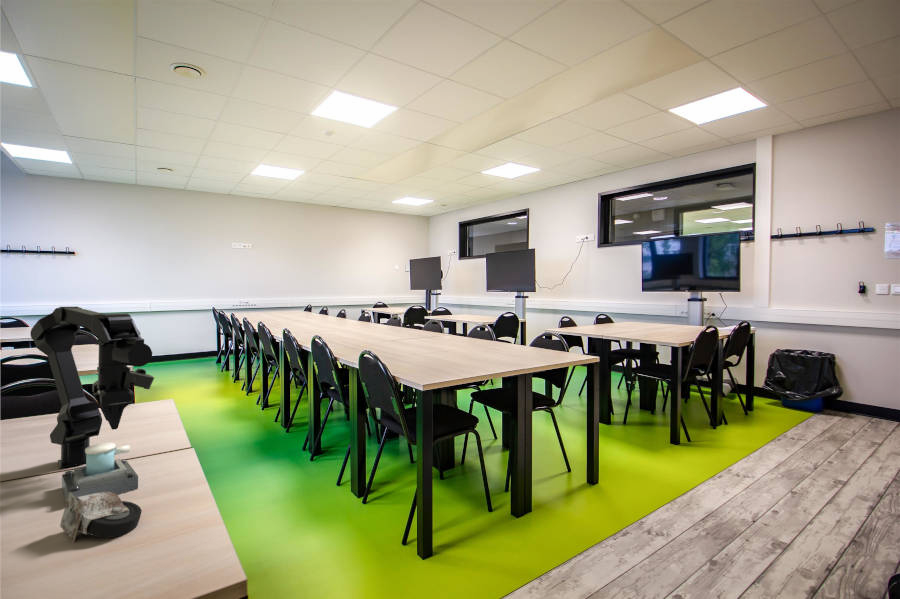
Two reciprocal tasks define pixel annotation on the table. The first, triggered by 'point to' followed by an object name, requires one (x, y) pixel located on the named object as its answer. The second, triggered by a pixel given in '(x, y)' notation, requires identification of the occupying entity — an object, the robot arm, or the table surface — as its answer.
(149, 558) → the table surface
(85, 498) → the caster wheel
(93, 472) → the pump canister
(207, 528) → the table surface
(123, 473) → the grey metal socket plate
